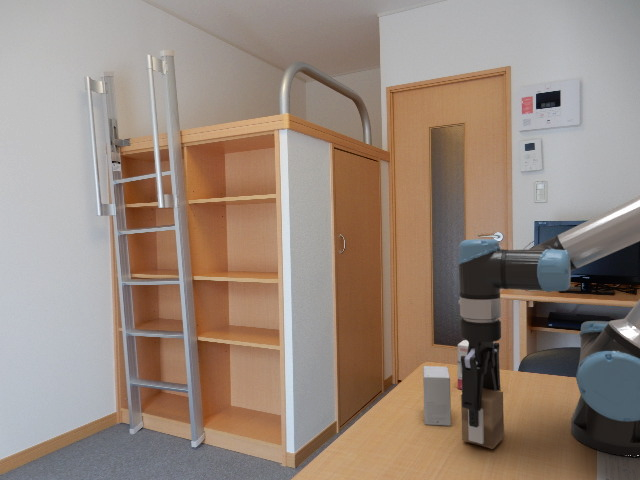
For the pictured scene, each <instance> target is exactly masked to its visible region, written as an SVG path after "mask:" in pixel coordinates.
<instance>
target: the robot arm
mask: <svg viewBox="0 0 640 480" xmlns="http://www.w3.org/2000/svg"><path fill="white" fill-rule="evenodd" d="M639 242H640V195H638V196H636V197H634V198H632V199H629V200H628V201H626V202H624V203H621V204H620V205H617V206H616V207H613V208H611V209H608V210H607V211H604V212H602V213H600V214H599V215H596V216H594V217H593V218H591V219H589V220H587V221H585V222H582V223H580V224H578V225H576V226H574V227H571V228H570V229H568V230H565V231H564V232H561V233H560V234H558V235H557V236H553V237H552V238H549V239H548V240H546V241H543V242H541V243H539V244H536V245H533V246H532V247H530V248H529V249H504V248H501V246H500V242H499V240H498V239H492V238H489V239H488V238H487V239H486V238H477V239H465V240H462V241H461V242H460V243H459V246H458V262H457V265H458V277H459V278H458V279H459V280H458V281H459V284H458V285H459V299H458V301H457V302H458V303H457V304H458V305H459V311H460V314H459V315H460V316H461V319H460V321H459V323H460V324H459V325H460V327H459V329H460V330H459V331H460V337H461V339H463V340H467V341H468V342H469V345H468V351H467V356H461V364H462V390H461V395H462V407H463V408H467V409H468V432H469V441H473V442H476V443H480V444H483V443H484V422H483V409H481V401H482V390H483V388H485V389H490V390H495V391H499V392H501V376H500V375H501V373H500V343H499V342H498V341H500V340H501V338H502V322H501V320H500V318H501V317H502V307H501V306H502V305H501V302H502V301H501V290H521V291H540V292H541V291H542V292H547V293H551V292H562V291H563V292H566V291H568V290H569V288H570V287H571V280H572V279H571V274H572V273H571V272H572V271H575V270H576V269H579V268H581V267H583V266H587V265H588V264H590V263H593V262H595V261H597V260H599V259H601V258H604V257H606V256H608V255H611V254H613V253H615V252H617V251H620V250H622V249H625V248H626V247H630V246H632V245H634V244H636V243H639ZM579 337H580V355H579V361H578V366H577V370H576V373H575V381H576V385H577V387H578V390H579V391H578V392H579V393H580V396H579V398H578V401H577V404H576V406H575V409H574V412H573V414H572V417H571V420H570V426H571V427H570V432H571V434H572V437H574V438H575V439H576V440H577V441H578V442H581V443H582V444H583V445H585V446H587V447H590V448H592V449H595V450H597V451H601V452H604V453H607V454H612V455H615V454H616V456H621V455H627V456H626V457H629V456H630V455H631V456H637V455H639V456H640V298H639V299H638V300H637V302H636V303H635V304H634V306H633V307H632V309H630V311H629V313H628V314H627V315H626V316H625V317H624V318H620V319H615V320H610V321H605V320H603V321H602V320H590V321H589V320H588V321H584V322H583V323H581V326H580V332H579ZM477 367H478V368H479V369H478V368H477ZM628 455H629V456H628Z"/></svg>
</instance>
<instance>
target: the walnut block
mask: <svg viewBox="0 0 640 480" xmlns="http://www.w3.org/2000/svg"><path fill="white" fill-rule="evenodd" d="M460 401H461V402H460V405H461V407H460V409H461V413H460V414H461V438H462V439H461V441H462V442H463V441H464V442H467V443H470V444H473V445H477V446H480V447H481V446H482V447H484V448H488V449H492V450H493V449H495V447H496V446H497V445H498V444H500V442H501V441H502V440H503V439H504V438H505V429H504V428H505V422H504V421H505V420H504V391H495V390H490V389H485V388H483V390H482V401H481V409H483V422H484V443H483V444H480V443H476V442H473V441H469V432H468V409H467V408H463V407H462V394H461V395H460Z"/></svg>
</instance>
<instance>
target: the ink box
mask: <svg viewBox="0 0 640 480" xmlns="http://www.w3.org/2000/svg"><path fill="white" fill-rule="evenodd" d="M468 345H469V342H468V341H467V340H465V339H463V340H462V341H461V342H459V343H457V389H458V390H461V391H462V364H461V356H467V351H468ZM477 368H478V367H477ZM478 369H479V368H478Z"/></svg>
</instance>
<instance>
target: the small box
mask: <svg viewBox="0 0 640 480" xmlns="http://www.w3.org/2000/svg"><path fill="white" fill-rule="evenodd" d="M422 366H423V365H422ZM422 377H423V378H422V379H423V380H422V381H423V385H422V386H423V414H424V424H425V425H430V426H431V425H432V426H449V427H450V426H451V425H452V409H451V407H452V405H451V399H452V398H451V375H450V373H449V369H448V366H438V365H437V366H434V365H433V366H432V365H430V366H429V365H424V366H423V367H422Z"/></svg>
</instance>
